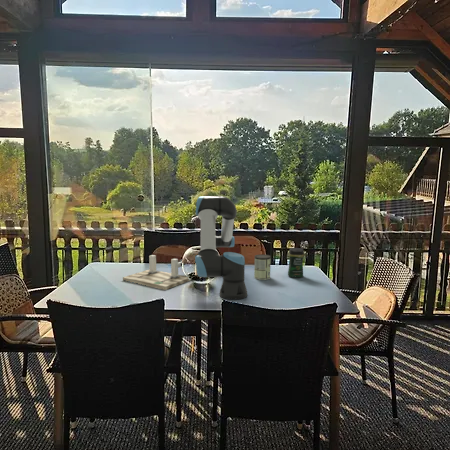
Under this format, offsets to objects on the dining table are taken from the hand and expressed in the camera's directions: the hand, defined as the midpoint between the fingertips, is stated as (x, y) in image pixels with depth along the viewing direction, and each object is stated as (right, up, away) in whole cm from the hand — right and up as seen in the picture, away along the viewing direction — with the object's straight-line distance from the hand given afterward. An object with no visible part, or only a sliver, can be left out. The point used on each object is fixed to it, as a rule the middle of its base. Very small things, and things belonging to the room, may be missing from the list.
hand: (176, 265), depth 247 cm
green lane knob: (-1, -7, -1) cm, 7 cm away
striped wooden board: (-12, -9, -1) cm, 15 cm away
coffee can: (+54, -9, +8) cm, 55 cm away
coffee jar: (+76, -8, +11) cm, 77 cm away
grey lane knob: (-16, -5, +8) cm, 19 cm away
